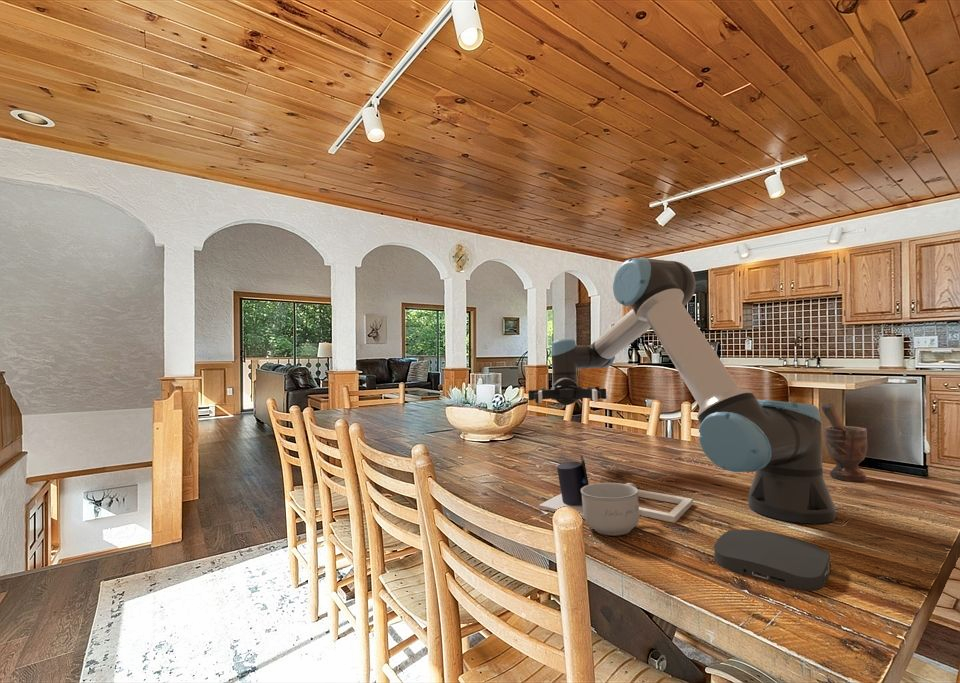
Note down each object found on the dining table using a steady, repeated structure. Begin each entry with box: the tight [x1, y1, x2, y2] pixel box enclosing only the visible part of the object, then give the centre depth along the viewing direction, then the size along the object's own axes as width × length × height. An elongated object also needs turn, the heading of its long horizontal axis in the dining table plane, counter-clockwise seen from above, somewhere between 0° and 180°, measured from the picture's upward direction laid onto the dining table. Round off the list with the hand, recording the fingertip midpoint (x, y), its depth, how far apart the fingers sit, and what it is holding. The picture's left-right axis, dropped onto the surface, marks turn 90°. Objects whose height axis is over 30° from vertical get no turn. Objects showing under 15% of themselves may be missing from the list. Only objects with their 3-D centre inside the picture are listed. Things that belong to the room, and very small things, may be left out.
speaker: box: [556, 454, 590, 505], centre depth 101 cm, size 8×6×10 cm
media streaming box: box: [713, 529, 832, 592], centre depth 72 cm, size 15×15×3 cm
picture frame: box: [637, 488, 694, 524], centre depth 99 cm, size 14×14×1 cm
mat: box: [538, 493, 585, 520], centre depth 100 cm, size 11×11×1 cm
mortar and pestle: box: [821, 402, 868, 483], centre depth 116 cm, size 12×9×20 cm
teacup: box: [581, 482, 640, 537], centre depth 88 cm, size 14×11×8 cm
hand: (567, 396), depth 111 cm, fingers open, 13 cm apart
